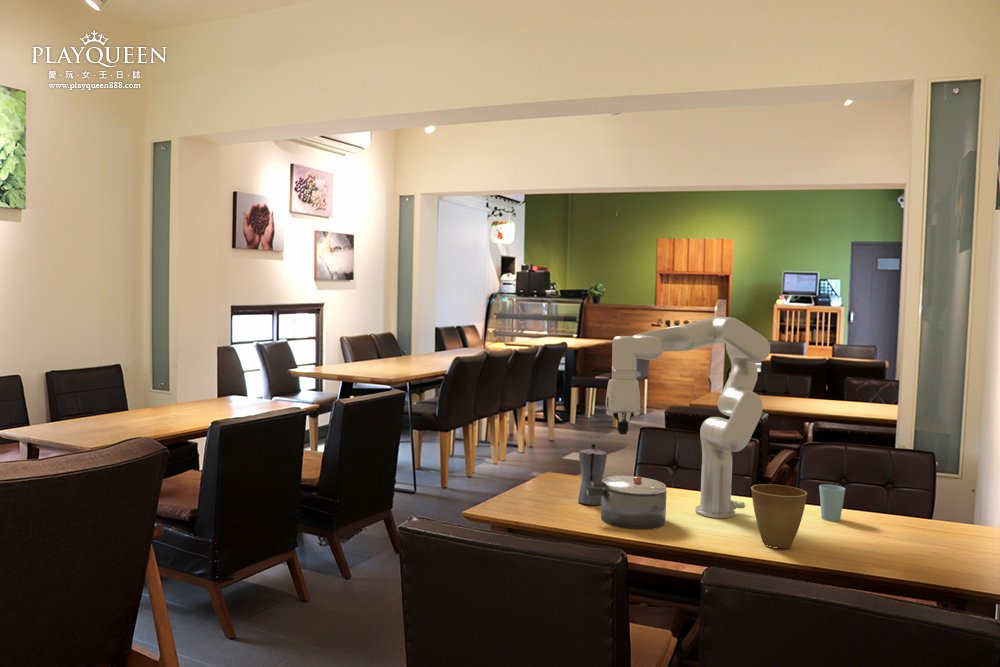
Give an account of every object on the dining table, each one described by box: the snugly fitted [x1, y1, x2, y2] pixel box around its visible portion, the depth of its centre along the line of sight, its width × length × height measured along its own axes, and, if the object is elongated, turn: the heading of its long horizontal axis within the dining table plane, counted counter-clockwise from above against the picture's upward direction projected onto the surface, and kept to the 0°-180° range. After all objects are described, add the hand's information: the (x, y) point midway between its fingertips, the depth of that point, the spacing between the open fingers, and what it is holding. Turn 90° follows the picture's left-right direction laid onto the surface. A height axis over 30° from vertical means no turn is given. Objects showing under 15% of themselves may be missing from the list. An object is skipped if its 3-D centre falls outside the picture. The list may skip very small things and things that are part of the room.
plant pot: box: [750, 483, 808, 549], centre depth 207 cm, size 15×15×16 cm
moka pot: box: [577, 443, 608, 506], centre depth 247 cm, size 10×15×20 cm, turn 174°
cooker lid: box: [591, 475, 667, 495], centre depth 228 cm, size 23×20×3 cm
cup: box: [818, 484, 846, 522], centre depth 236 cm, size 8×8×10 cm
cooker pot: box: [586, 487, 668, 531], centre depth 228 cm, size 25×20×10 cm
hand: (622, 433), depth 228 cm, fingers closed
